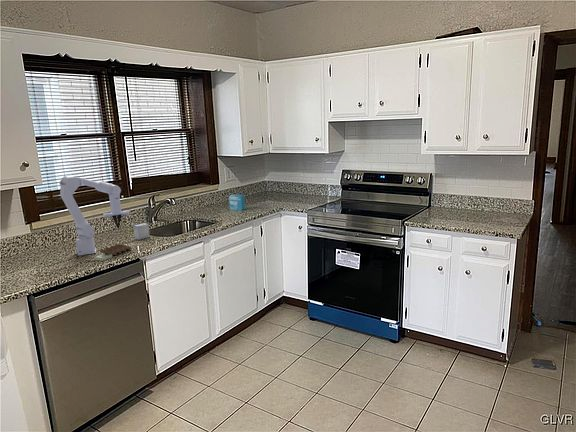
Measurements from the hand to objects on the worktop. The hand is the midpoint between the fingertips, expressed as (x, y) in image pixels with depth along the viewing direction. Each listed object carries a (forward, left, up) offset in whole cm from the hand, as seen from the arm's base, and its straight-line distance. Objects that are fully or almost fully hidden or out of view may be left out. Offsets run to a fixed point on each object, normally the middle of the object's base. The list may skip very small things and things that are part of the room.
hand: (118, 227), depth 259 cm
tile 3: (-3, -19, -10) cm, 21 cm away
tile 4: (-6, -21, -10) cm, 24 cm away
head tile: (+2, -14, -10) cm, 17 cm away
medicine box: (+14, +8, -11) cm, 19 cm away
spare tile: (-8, -23, -10) cm, 27 cm away
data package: (+96, +57, -11) cm, 112 cm away
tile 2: (0, -17, -10) cm, 19 cm away
